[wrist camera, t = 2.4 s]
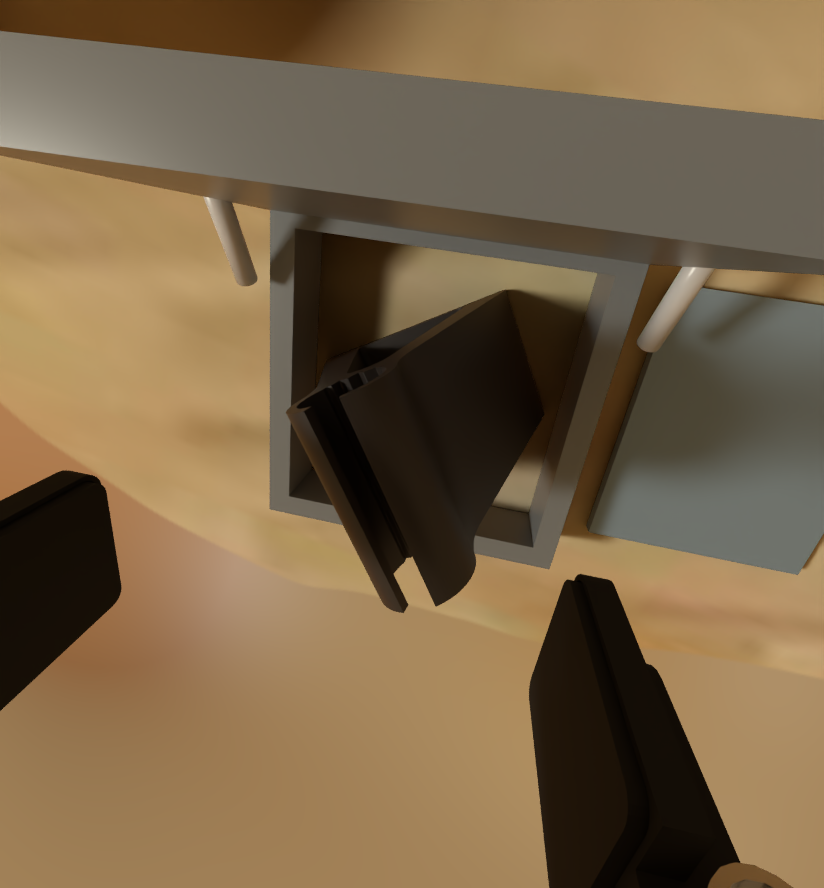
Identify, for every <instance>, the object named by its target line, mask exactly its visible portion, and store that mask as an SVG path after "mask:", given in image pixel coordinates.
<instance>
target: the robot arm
mask: <svg viewBox="0 0 824 888" xmlns="http://www.w3.org/2000/svg"><path fill="white" fill-rule="evenodd" d="M120 593H121V581H120V575H119V568H118V563H117V556H116V550H115V544H114V537H113V531H112V525H111V518H110V512H109V507H108V500H107V493H106V490H105V488H104V487H103V486H102V485H101V483H100V480H99V479H98V478H97V477H95V476H93V475H88V474H83V473H78V472H73V471H60V472H58V473H55V474H53V475H51V476H49V477H47V478H45V479H43V480H41V481H39V482H37V483H35V484H33V485H31V486H29V487H27V488H25V489H23V490H21V491H19V492H17V493H15V494H13V495H11V496H9V497H7V498H5V499H3V500H1V501H0V711H1V710H2V709H3V708H4V707H5V706H6V705H7V704H8V703H9V702H10V701H11V700H12V699H14V698H15V697H16V696H17V694H19V693H20V692H21V691H22V690H23V689H24V688H25V687H26V686H27V685H29V683H30V682H32V681H33V680H34V679H35V678H36V677H37V676H38V675H39V674H40V673H41V672H42V671H44V669H46V668H47V667H48V666H49V665H50V664H51V663H52V662H53V661H54V660H55V659H56V658H57V657H58V656H60V655H61V654H62V653H63V652H64V651H65V650H66V649H67V648H68V647H69V646H70V645H71V644H72V643H73V642H75V641H76V640H77V639H78V638H79V637H80V636H81V635H82V634H83V633H84V632H85V631H86V630H87V629H88V628H89V627H91V626H92V625H93V624H94V623H95V622H96V621H97V620H98V619H99V618H100V617H101V616H102V615H103V614H105V613H106V612H107V611H108V610H109V609H110V608H111V607H112V606H113V605H114V604H115V603H116V601H117V600H118V598H119V596H120ZM529 701H530V711H531V720H532V730H533V739H534V748H535V757H536V767H537V777H538V786H539V795H540V804H541V814H542V823H543V833H544V842H545V852H546V860H547V871H548V879H549V888H793V887H791V886H790V885H789V884H787V883H786V882H785V881H783V880H782V879H781V878H779V877H777V876H776V875H774V874H772V873H769V872H768V871H765V870H763V869H761V868H759V867H757V866H755V865H750V864H743V863H740V861H739V859H738V856H737V854H736V851H735V849H734V847H733V844H732V842H731V840H730V837H729V835H728V833H727V830H726V828H725V826H724V823H723V821H722V819H721V817H720V814H719V812H718V809H717V807H716V805H715V802H714V800H713V798H712V795H711V793H710V791H709V789H708V786H707V784H706V781H705V779H704V777H703V774H702V772H701V770H700V767H699V765H698V763H697V760H696V758H695V756H694V753H693V751H692V749H691V746H690V744H689V742H688V740H687V737H686V735H685V732H684V730H683V728H682V725H681V723H680V721H679V719H678V716H677V714H676V711H675V709H674V707H673V704H672V702H671V700H670V697H669V695H668V693H667V690H666V688H665V686H664V683H663V681H662V679H661V677H660V675H659V673H658V671H657V670H656V669H655V668H654V667H653V666H652V665H649V664H646V663H645V660H644V658H643V655H642V653H641V650H640V648H639V645H638V643H637V640H636V638H635V635H634V633H633V631H632V628H631V626H630V623H629V621H628V618H627V616H626V613H625V611H624V608H623V606H622V603H621V601H620V598H619V596H618V594H617V591H616V589H615V586H614V584H613V583H612V581H610V580H607V579H602V578H597V577H592V576H587V575H582V574H579V575H577V576H576V578H575V580H574V581H572V580H566V581H565V582H564V585H563V587H562V590H561V593H560V596H559V599H558V602H557V605H556V608H555V611H554V614H553V616H552V619H551V622H550V625H549V628H548V631H547V634H546V637H545V640H544V643H543V645H542V648H541V651H540V654H539V657H538V660H537V663H536V666H535V669H534V672H533V674H532V677H531V681H530V688H529Z"/></svg>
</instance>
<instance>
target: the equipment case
mask: <svg viewBox="0 0 824 888" xmlns="http://www.w3.org/2000/svg"><path fill="white" fill-rule="evenodd" d="M0 155H1V156H6V157H11V158H16V159H21V160H26V161H31V162H36V163H41V164H46V165H51V166H56V167H61V168H66V169H70V170H75V171H80V172H85V173H90V174H95V175H100V176H105V177H110V178H115V179H120V180H125V181H130V182H135V183H139V184H144V185H149V186H154V187H159V188H164V189H169V190H174V191H179V192H184V193H189V194H194V195H199V196H203V197H204V200H205V202H206V205H207V207H208V210H209V212H210V215H211V217H212V220H213V223H214V225H215V228H216V230H217V233H218V235H219V238H220V240H221V243H222V246H223V248H224V251H225V253H226V256H227V258H228V261H229V263H230V266H231V269H232V271H233V274H234V276H235V279H236V281H237V283H238V284H239V285H241V286H250V285H252V284H254V283H255V282H256V281H257V275H256V272H255V269H254V266H253V263H252V260H251V257H250V254H249V251H248V248H247V245H246V242H245V239H244V236H243V234H242V231H241V228H240V225H239V222H238V219H237V216H236V213H235V210H234V207H233V204H232V202H233V203H238V204H243V205H248V206H253V207H258V208H263V209H268V210H270V509H271V510H276V511H280V512H285V513H290V514H294V515H299V516H304V517H308V518H313V519H317V520H322V521H327V522H331V523H336V524H341V525H343V524H342V522H341V520H340V518H339V516H338V514H337V512H336V510H335V508H334V506H333V504H332V502H331V500H330V498H329V496H328V495H327V493H326V491H325V489H324V487H323V485H322V483H321V481H320V479H319V477H318V475H317V473H316V471H315V470H312V463H311V461H310V459H309V457H308V455H307V453H306V451H305V449H304V447H303V445H302V443H301V441H300V440H299V438H298V436H297V434H296V432H295V430H294V428H293V426H292V424H291V422H290V420H289V418H288V416H287V414H286V411H287V410H288V409H289V408H290V407H291V406H292V405H294V404H295V403H297V402H298V401H300V400H301V399H303V398H304V397H306V396H307V395H309V394H310V393H311V392H312V391H314V390H315V383H316V362H317V340H318V318H319V296H320V274H321V252H322V232H324V233H331V234H338V235H345V236H351V237H358V238H365V239H372V240H379V241H385V242H392V243H399V244H406V245H412V246H419V247H426V248H433V249H440V250H446V251H453V252H460V253H467V254H474V255H480V256H487V257H494V258H501V259H508V260H514V261H521V262H528V263H535V264H542V265H548V266H555V267H562V268H569V269H575V270H582V271H589V272H596V273H597V276H596V280H595V283H594V287H593V290H592V294H591V297H590V301H589V304H588V308H587V311H586V315H585V318H584V322H583V325H582V329H581V332H580V336H579V339H578V343H577V346H576V350H575V353H574V357H573V360H572V364H571V367H570V371H569V374H568V378H567V381H566V385H565V388H564V392H563V395H562V399H561V402H560V406H559V409H558V413H557V416H556V420H555V423H554V427H553V430H552V434H551V437H550V441H549V444H548V448H547V451H546V455H545V458H544V462H543V465H542V469H541V472H540V476H539V479H538V483H537V486H536V490H535V493H534V497H533V500H532V504H531V507H530V511H529V514H527V513H522V512H517V511H512V510H508V509H503V508H498V507H493V506H490V508H489V509H488V511H487V513H486V515H485V516H484V518H483V520H482V521H481V523H480V525H479V527H478V529H477V531H476V534H475V538H474V553H476V554H480V555H485V556H490V557H494V558H499V559H504V560H508V561H513V562H518V563H522V564H527V565H531V566H536V567H541V568H545V569H550V566H551V563H552V560H553V557H554V554H555V551H556V548H557V544H558V541H559V538H560V535H561V532H562V529H563V526H564V523H565V520H566V517H567V514H568V511H569V508H570V505H571V502H572V499H573V496H574V493H575V490H576V487H577V484H578V481H579V477H580V474H581V471H582V468H583V465H584V462H585V459H586V456H587V453H588V450H589V447H590V444H591V441H592V438H593V435H594V432H595V429H596V426H597V423H598V420H599V417H600V414H601V411H602V407H603V404H604V401H605V398H606V395H607V392H608V389H609V386H610V383H611V380H612V377H613V374H614V371H615V368H616V365H617V362H618V359H619V356H620V353H621V350H622V347H623V344H624V340H625V337H626V334H627V331H628V328H629V325H630V322H631V319H632V316H633V313H634V310H635V307H636V304H637V301H638V298H639V295H640V292H641V289H642V286H643V283H644V280H645V277H646V273H647V270H648V267H649V265H665V266H682V268H681V270H680V271H679V273H678V275H677V276H676V278H675V279H674V281H673V283H672V284H671V286H670V287H669V289H668V291H667V292H666V294H665V296H664V297H663V299H662V300H661V302H660V304H659V305H658V307H657V308H656V310H655V312H654V313H653V315H652V316H651V318H650V320H649V321H648V323H647V325H646V326H645V328H644V329H643V331H642V333H641V334H640V336H639V337H638V339H637V345H638V346H639V348H641V349H642V350H644V351H646V352H656V351H658V350H659V349H660V347H661V346H662V344H663V343H664V341H665V340H666V338H667V337H668V336H669V334H670V333H671V331H672V330H673V328H674V327H675V326H676V324H677V323H678V321H679V320H680V318H681V317H682V316H683V314H684V313H685V311H686V310H687V308H688V307H689V305H690V304H691V303H692V301H693V300H694V298H695V297H696V295H697V294H698V293H699V291H700V290H701V288H702V287H703V285H704V284H705V282H706V281H707V280H708V278H709V277H710V275H711V274H712V272H713V271H714V270H715V268H716V269H733V270H750V271H767V272H784V273H801V274H818V275H824V120H819V119H809V118H800V117H791V116H782V115H772V114H763V113H754V112H745V111H735V110H726V109H717V108H708V107H698V106H689V105H680V104H671V103H661V102H652V101H643V100H634V99H624V98H615V97H606V96H597V95H587V94H578V93H569V92H560V91H550V90H541V89H532V88H523V87H513V86H504V85H495V84H486V83H476V82H467V81H458V80H449V79H439V78H430V77H421V76H412V75H402V74H393V73H384V72H375V71H365V70H356V69H347V68H338V67H329V66H319V65H310V64H301V63H292V62H282V61H273V60H264V59H255V58H245V57H236V56H227V55H218V54H208V53H199V52H190V51H181V50H171V49H162V48H153V47H144V46H134V45H125V44H116V43H107V42H97V41H88V40H79V39H70V38H60V37H51V36H42V35H33V34H23V33H14V32H5V31H0Z"/></svg>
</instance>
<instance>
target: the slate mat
mask: <svg viewBox="0 0 824 888" xmlns="http://www.w3.org/2000/svg"><path fill="white" fill-rule="evenodd" d="M586 526H587V529H588V531H589V532H591V533H596V534H601V535H605V536H610V537H615V538H620V539H625V540H630V541H635V542H640V543H644V544H649V545H654V546H659V547H664V548H669V549H674V550H679V551H684V552H688V553H693V554H698V555H703V556H708V557H713V558H718V559H723V560H727V561H732V562H737V563H742V564H747V565H752V566H757V567H762V568H767V569H771V570H776V571H781V572H786V573H791V574H796V575H798V574H799V572H800V571H801V569H802V567H803V566H804V564H805V563H806V561H807V559H808V558H809V556H810V555H811V553H812V551H813V550H814V548H815V547H816V545H817V543H818V542H819V540H820V539H821V537H822V535H823V534H824V306H822V305H815V304H809V303H802V302H795V301H788V300H781V299H775V298H768V297H761V296H754V295H747V294H741V293H734V292H727V291H720V290H713V289H707V288H701V290H700V291H699V293H698V294H697V295H696V297H695V298H694V300H693V301H692V303H691V304H690V305H689V307H688V308H687V310H686V311H685V313H684V314H683V316H682V317H681V318H680V320H679V321H678V323H677V324H676V326H675V327H674V328H673V330H672V331H671V333H670V334H669V336H668V337H667V338H666V340H665V341H664V343H663V344H662V346H661V347H660V349H659V350H658V351H656V352H648V353H647V356H646V359H645V361H644V364H643V367H642V370H641V373H640V376H639V378H638V381H637V384H636V387H635V390H634V393H633V395H632V398H631V401H630V404H629V407H628V410H627V412H626V415H625V418H624V421H623V424H622V426H621V429H620V432H619V435H618V438H617V441H616V443H615V446H614V449H613V452H612V455H611V458H610V460H609V463H608V466H607V469H606V472H605V475H604V477H603V480H602V483H601V486H600V489H599V492H598V494H597V497H596V500H595V503H594V506H593V508H592V511H591V514H590V517H589V520H588V523H587V525H586Z"/></svg>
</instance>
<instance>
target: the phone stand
mask: <svg viewBox="0 0 824 888" xmlns="http://www.w3.org/2000/svg"><path fill="white" fill-rule="evenodd" d="M286 414H287V416H288V418H289V420H290V422H291V424H292V426H293V428H294V430H295V432H296V434H297V436H298V438H299V440H300V441H301V443H302V445H303V447H304V449H305V451H306V453H307V455H308V457H309V459H310V461H311V463H312V465H313V467H314V469H315V471H316V473H317V475H318V477H319V479H320V481H321V483H322V485H323V487H324V489H325V491H326V493H327V495H328V496H329V498H330V500H331V502H332V504H333V506H334V508H335V510H336V512H337V514H338V516H339V518H340V520H341V522H342V524H343V526H344V528H345V530H346V532H347V534H348V536H349V538H350V540H351V542H352V544H353V546H354V548H355V549H356V551H357V553H358V555H359V557H360V559H361V561H362V563H363V565H364V567H365V569H366V571H367V573H368V575H369V577H370V579H371V581H372V583H373V585H374V587H375V589H376V591H377V593H378V595H379V597H380V599H381V600H382V602H383V604H384V605H385V606H386V607H387V608H389V609H391V610H393V611H396V612H401V613H404V611H405V610H406V608H407V606H408V603H407V601H406V599H405V597H404V595H403V593H402V591H401V589H400V587H399V585H398V583H397V581H396V579H395V577H394V575H393V574H394V573H395V571H396V570H397V569H398V568H399V567H400V566H401V565H402V564H403V563H404V562H405V560H406V558H410V557H412V556H413V559H414V561H415V563H416V565H417V567H418V569H419V571H420V574H421V576H422V578H423V580H424V582H425V584H426V587H427V589H428V591H429V593H430V595H431V597H432V600H433V602H434V604H435V606H438V605H440V604H442V603H444V602H446V601H447V600H449V599H451V598H452V597H453V596H455V595H456V594H457V593H458V592H459V591H461V590H462V589H463V588H464V586H465V585H466V584H467V583H468V582H469V580H470V579H471V577H472V575H473V573H474V570H475V566H476V558H475V553H474V538H475V534H476V531H477V529H478V527H479V525H480V523H481V521H482V520H483V518H484V516H485V515H486V513H487V511H488V509H489V508H490V506H491V504H492V503H493V501H494V499H495V498H496V496H497V494H498V492H499V491H500V489H501V487H502V486H503V484H504V482H505V481H506V479H507V477H508V476H509V474H510V472H511V470H512V469H513V467H514V465H515V464H516V462H517V460H518V459H519V457H520V455H521V453H522V452H523V450H524V448H525V447H526V445H527V443H528V442H529V440H530V438H531V436H532V435H533V433H534V431H535V430H536V428H537V426H538V425H539V423H540V421H541V420H542V418H543V416H544V411H543V408H542V405H541V401H540V398H539V395H538V392H537V389H536V385H535V382H534V379H533V376H532V372H531V369H530V366H529V363H528V360H527V356H526V353H525V350H524V347H523V344H522V340H521V337H520V334H519V331H518V328H517V324H516V321H515V318H514V315H513V312H512V308H511V305H510V302H509V299H508V296H507V292H506V290H502V291H500V292H497V293H494V294H492V295H489V296H487V297H484V298H482V299H479V300H477V301H474V302H472V303H469V304H467V305H464V306H462V307H459V308H457V309H454V310H452V311H449V312H447V313H444V314H442V315H439V316H437V317H434V318H431V319H429V320H426V321H424V322H421V323H419V324H416V325H414V326H412V327H409V328H406V329H404V330H401V331H399V332H396V333H394V334H391V335H389V336H386V337H384V338H381V339H379V340H376V341H374V342H371V343H368V344H366V345H363V346H361V347H358V348H356V349H353V350H351V351H348V352H346V353H343V354H341V355H338V356H336V357H333V358H331V359H329V360H327V361H326V363H325V366H324V369H323V372H322V374H321V377H320V380H319V383H318V386H317V387H316V389H315V390H314V391H312V392H311V393H310V394H309V395H307V396H306V397H304V398H303V399H301V400H300V401H298V402H297V403H295V404H294V405H292V406H291V407H290V408H289V409H288V410H287V411H286Z"/></svg>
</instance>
